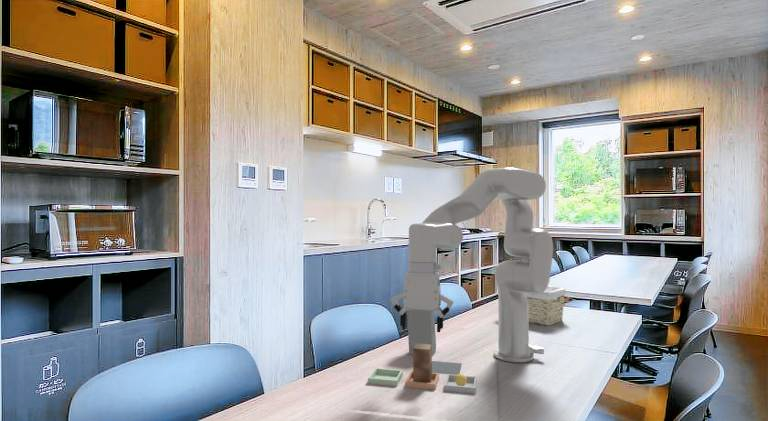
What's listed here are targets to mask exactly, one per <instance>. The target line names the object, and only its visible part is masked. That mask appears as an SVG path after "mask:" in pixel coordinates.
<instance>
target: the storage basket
mask: <svg viewBox="0 0 768 421" xmlns="http://www.w3.org/2000/svg"><path fill="white" fill-rule="evenodd" d="M524 293H525V295H526V297H527V300H528V305H529V323H531V324H539V325H542V326H543V325H544V326H552V325H555V324H556V323H559V322H561V321H562V320H563V315H564V314H563V313H564V306H565V304H564V302H565V295H566V294H567V293H566V288H565V287H560V286H553V285H548V287H547V289H546V290H545V291H544V292H543V293H539V294H535V293H529V292H524Z"/></svg>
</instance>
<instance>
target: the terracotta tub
mask: <svg viewBox="0 0 768 421" xmlns="http://www.w3.org/2000/svg"><path fill="white" fill-rule="evenodd" d="M439 379H440V373H432V381H431V383H424V382H413V370H410V372H409V373H408V376H407V377H406V379H405V383H404V387H405V388H412V389H413V388H414V389H422V390H423V389H425V390H436V389H437V386H438V382H439V381H440V380H439Z"/></svg>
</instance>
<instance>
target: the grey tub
mask: <svg viewBox="0 0 768 421" xmlns="http://www.w3.org/2000/svg"><path fill="white" fill-rule="evenodd" d="M456 376H457V375H453V374H446V377H445V380H444V385H443V386H444V387H443V391H444V392H453V393H455V392H456V393H465V394H466V393H467V394H474V395H475V394H477V393H476V392H477V386H478V385H477V384H478V376H476V375H475V376H474V375H465V376H466V378H467V383H466V384H465V385H464V386H458V385H457V384H456V382H455V377H456Z"/></svg>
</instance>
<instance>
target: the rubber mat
mask: <svg viewBox="0 0 768 421" xmlns="http://www.w3.org/2000/svg"><path fill="white" fill-rule="evenodd" d="M462 365H463V364H462V363H461V362H450V361H449V362H448V361H437V360H436V361H435V360H432V373H439V374H443V375H447V374H453V375H458V374H461V369H462Z"/></svg>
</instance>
